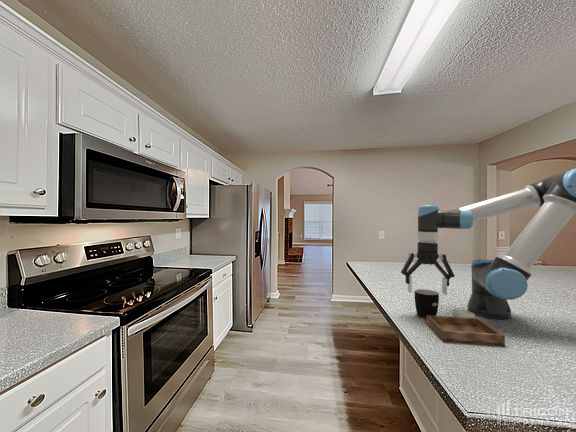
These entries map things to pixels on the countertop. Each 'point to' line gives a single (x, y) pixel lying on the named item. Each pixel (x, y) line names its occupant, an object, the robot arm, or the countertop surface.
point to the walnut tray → (464, 330)
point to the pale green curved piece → (463, 314)
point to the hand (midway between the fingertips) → (426, 292)
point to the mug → (426, 302)
